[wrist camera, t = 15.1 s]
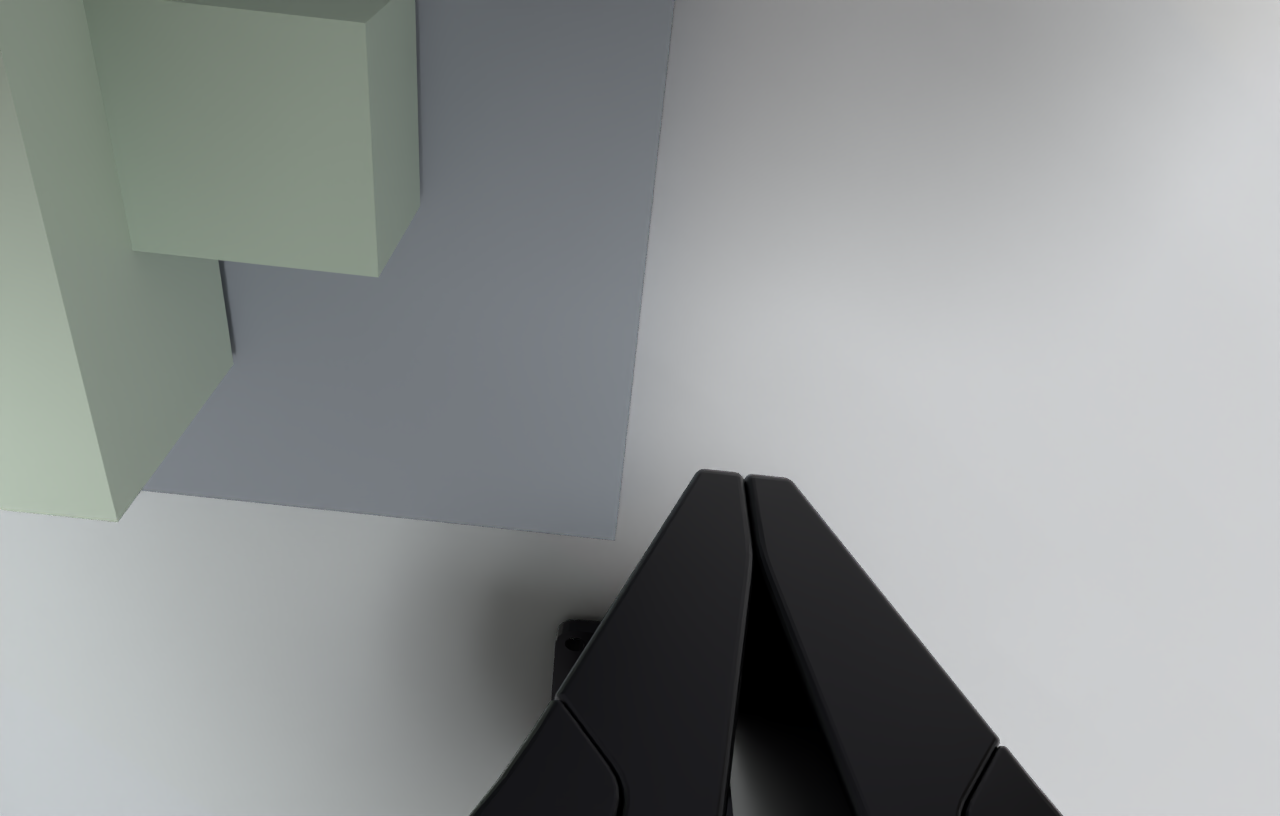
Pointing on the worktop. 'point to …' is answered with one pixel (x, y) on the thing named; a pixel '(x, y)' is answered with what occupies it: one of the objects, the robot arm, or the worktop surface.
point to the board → (465, 295)
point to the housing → (175, 208)
